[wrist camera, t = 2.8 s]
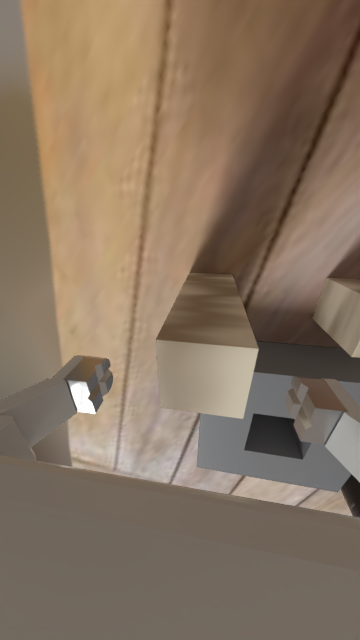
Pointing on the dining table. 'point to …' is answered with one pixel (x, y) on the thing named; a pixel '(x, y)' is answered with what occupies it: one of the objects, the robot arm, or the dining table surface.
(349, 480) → the supplement bottle
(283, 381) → the socket block
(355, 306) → the short pin
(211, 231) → the dining table surface
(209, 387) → the tall pin
